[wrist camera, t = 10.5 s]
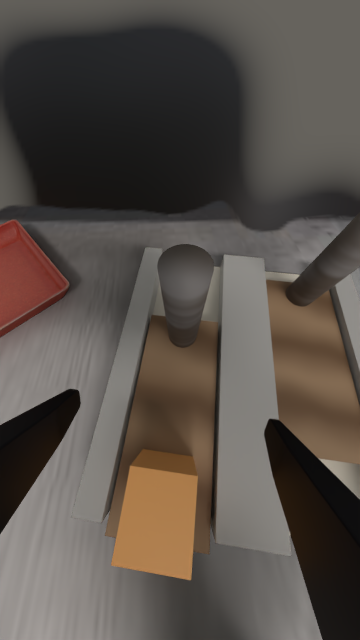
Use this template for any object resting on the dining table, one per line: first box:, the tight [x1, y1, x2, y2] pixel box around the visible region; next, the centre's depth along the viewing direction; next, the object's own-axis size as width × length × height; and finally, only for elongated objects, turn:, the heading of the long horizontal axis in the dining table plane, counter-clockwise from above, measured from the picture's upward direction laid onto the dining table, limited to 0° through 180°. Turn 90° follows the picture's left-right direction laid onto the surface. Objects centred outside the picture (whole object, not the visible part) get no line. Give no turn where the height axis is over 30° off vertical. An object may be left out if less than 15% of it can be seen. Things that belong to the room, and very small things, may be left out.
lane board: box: [71, 247, 360, 556], centre depth 20 cm, size 28×27×3 cm
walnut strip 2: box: [266, 213, 360, 464], centre depth 15 cm, size 19×8×13 cm, turn 173°
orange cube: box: [111, 449, 198, 580], centre depth 13 cm, size 4×4×4 cm
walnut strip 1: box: [105, 244, 218, 554], centre depth 13 cm, size 19×8×13 cm, turn 173°
